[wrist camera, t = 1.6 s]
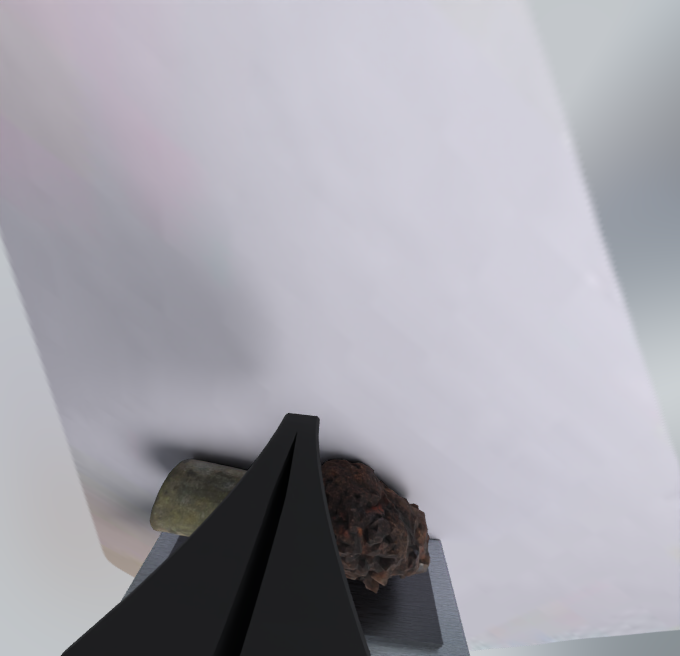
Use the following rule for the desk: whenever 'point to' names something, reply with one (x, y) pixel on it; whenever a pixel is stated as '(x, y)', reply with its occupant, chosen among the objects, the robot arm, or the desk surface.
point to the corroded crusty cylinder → (344, 508)
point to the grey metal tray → (383, 606)
